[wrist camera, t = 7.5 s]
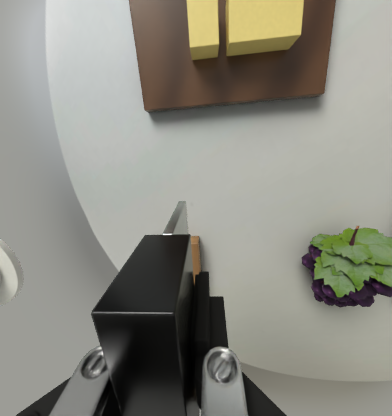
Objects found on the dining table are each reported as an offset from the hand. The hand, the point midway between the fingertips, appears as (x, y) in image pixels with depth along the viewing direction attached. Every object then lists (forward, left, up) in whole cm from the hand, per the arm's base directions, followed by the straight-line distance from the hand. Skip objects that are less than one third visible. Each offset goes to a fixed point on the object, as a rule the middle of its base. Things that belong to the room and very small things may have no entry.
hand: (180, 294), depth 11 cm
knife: (0, 0, -4) cm, 4 cm away
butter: (+8, +20, -18) cm, 28 cm away
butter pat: (+2, +20, -18) cm, 27 cm away
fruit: (+20, -10, -20) cm, 30 cm away
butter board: (+5, +20, -19) cm, 28 cm away
